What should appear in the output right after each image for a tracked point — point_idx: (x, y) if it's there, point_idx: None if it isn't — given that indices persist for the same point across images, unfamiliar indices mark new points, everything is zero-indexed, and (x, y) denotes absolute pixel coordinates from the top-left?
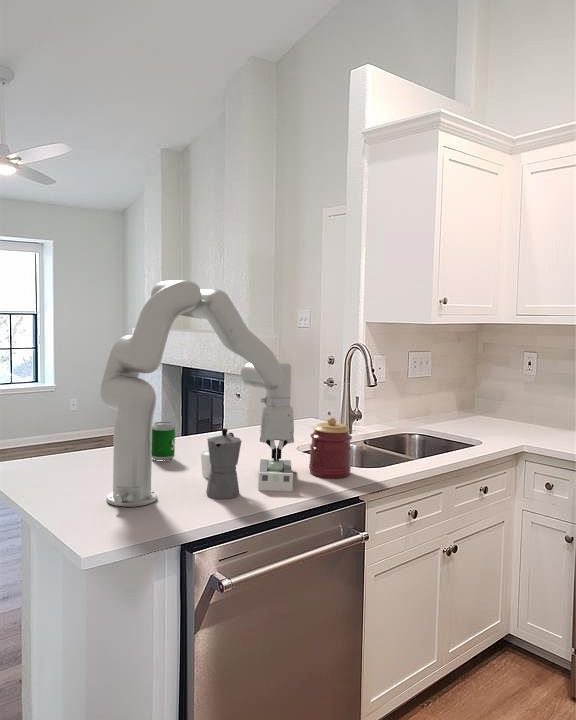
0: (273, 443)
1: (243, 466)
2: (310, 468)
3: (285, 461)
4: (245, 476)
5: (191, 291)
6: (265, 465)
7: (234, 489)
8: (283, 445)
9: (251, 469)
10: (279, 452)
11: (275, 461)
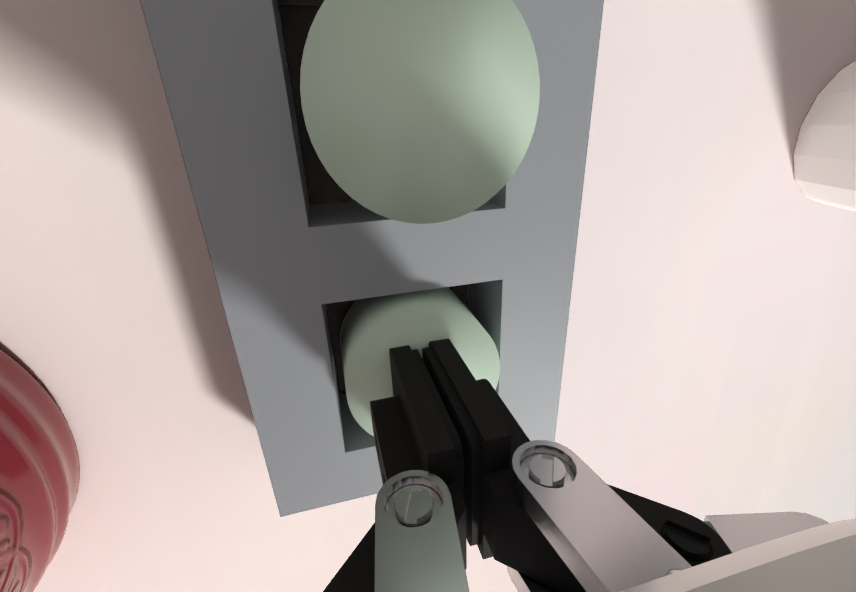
0: (581, 530)
1: (617, 413)
2: (6, 409)
3: (326, 461)
4: (637, 161)
5: None
6: (522, 256)
7: None
8: (365, 572)
9: (575, 364)
10: (409, 446)
11: (436, 175)
